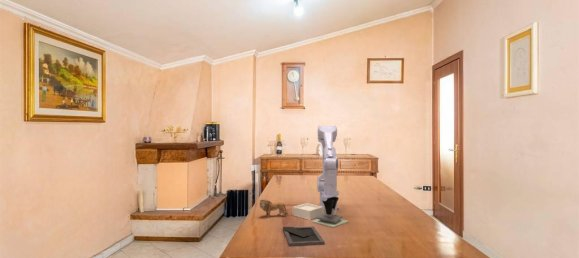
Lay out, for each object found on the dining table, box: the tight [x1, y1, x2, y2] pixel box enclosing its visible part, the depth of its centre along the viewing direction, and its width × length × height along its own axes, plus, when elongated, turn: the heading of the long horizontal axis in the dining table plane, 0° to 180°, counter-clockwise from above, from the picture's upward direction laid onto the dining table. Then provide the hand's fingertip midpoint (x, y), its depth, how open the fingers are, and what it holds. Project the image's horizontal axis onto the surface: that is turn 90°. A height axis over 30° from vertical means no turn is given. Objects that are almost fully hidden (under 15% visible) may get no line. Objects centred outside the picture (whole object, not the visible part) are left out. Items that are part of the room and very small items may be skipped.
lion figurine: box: [258, 198, 289, 219], centre depth 154 cm, size 15×5×9 cm, turn 110°
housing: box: [291, 202, 324, 221], centre depth 156 cm, size 11×11×4 cm
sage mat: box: [311, 218, 349, 228], centre depth 146 cm, size 12×12×1 cm
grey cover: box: [316, 208, 344, 223], centre depth 146 cm, size 9×9×4 cm
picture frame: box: [282, 225, 325, 247], centre depth 126 cm, size 13×2×18 cm
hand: (330, 213), depth 146 cm, fingers closed on grey cover, 2 cm apart
